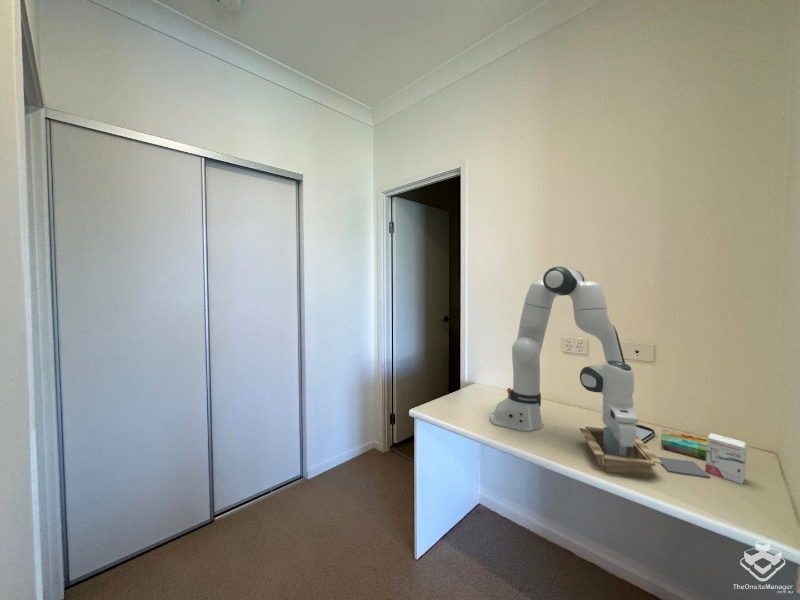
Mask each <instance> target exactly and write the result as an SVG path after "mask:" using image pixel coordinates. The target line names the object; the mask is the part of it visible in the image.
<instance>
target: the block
mask: <svg viewBox="0 0 800 600" xmlns="http://www.w3.org/2000/svg"><path fill="white" fill-rule="evenodd" d="M603 429H604V430H603V446H602V451H603V452H604V454H606V455H613V456H620V457H627V458H631V455H630V447H627V448H626V451H625V455H621V454H619V452H618V447H619V442H618V441H617V439H616V438H615V437H614V436H613V432H612V431H611V429H610V428H607V427H606V426H603Z"/></svg>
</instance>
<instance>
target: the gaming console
mask: <svg viewBox="0 0 800 600" xmlns="http://www.w3.org/2000/svg"><path fill="white" fill-rule="evenodd" d="M635 425H636V435H637V437H638V438H639V439H640V440H641V441H642V442H643V443H644V444H645V443H646V442H648V441H649V440H651V439H652V438H653V437H654V436H656V432H655V430H654V429H653V428H651V427H649V426H648V427H647V426H645V425H641V424H635ZM647 440H648V441H647Z"/></svg>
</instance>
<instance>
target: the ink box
mask: <svg viewBox="0 0 800 600" xmlns="http://www.w3.org/2000/svg"><path fill="white" fill-rule="evenodd" d="M706 439H707V453H706V459H705V472H706V473H707V474H710V475H715V476H717V477H720V478H723V479H726V480H728V481H731V482H735V483H738V484H744V483H745V477H746V461H747V442H745V441H742V440H739V439H735V438H730V437H728V436H723V435H720V434H717V433H709V434H708V435H707V437H706Z"/></svg>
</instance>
